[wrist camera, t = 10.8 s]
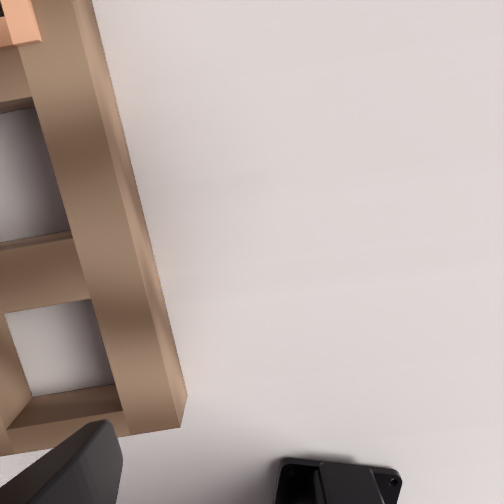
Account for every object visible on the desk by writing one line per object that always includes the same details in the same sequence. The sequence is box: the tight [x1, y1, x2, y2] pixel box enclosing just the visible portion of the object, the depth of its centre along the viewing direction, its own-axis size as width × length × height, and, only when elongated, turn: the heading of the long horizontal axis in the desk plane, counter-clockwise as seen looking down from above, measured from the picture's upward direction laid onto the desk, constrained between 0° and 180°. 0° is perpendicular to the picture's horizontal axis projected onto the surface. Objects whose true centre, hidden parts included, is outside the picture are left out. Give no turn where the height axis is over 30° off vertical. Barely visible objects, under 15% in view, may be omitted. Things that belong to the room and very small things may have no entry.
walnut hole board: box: [0, 0, 187, 456], centre depth 17 cm, size 24×10×3 cm, turn 10°
